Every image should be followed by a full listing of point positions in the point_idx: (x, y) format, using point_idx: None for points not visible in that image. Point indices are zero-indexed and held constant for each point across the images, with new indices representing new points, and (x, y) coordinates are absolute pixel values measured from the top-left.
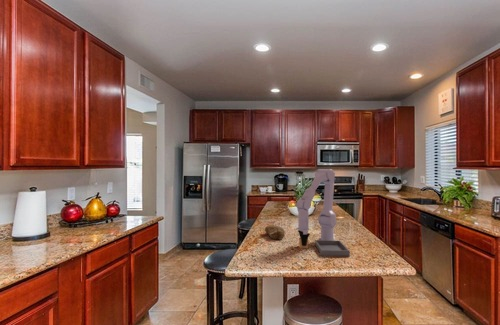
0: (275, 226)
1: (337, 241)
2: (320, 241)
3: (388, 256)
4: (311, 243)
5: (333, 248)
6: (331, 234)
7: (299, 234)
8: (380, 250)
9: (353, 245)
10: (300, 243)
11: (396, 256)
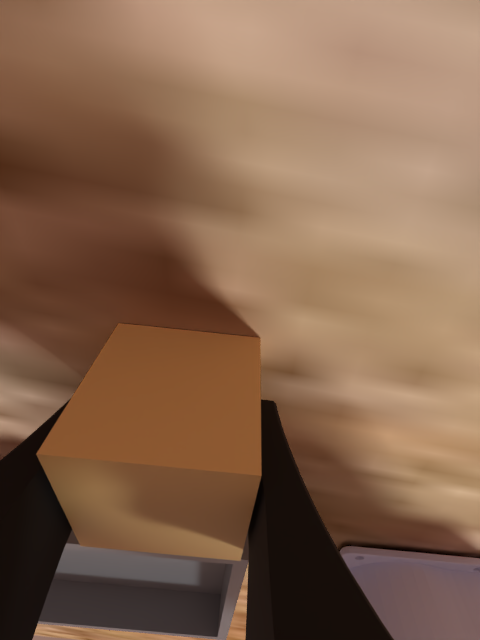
0: None
1: (218, 626)
2: (229, 570)
3: (46, 628)
4: (352, 480)
5: (100, 557)
6: None
7: (269, 597)
8: (141, 636)
9: (236, 614)
10: (83, 387)
11: (56, 637)
